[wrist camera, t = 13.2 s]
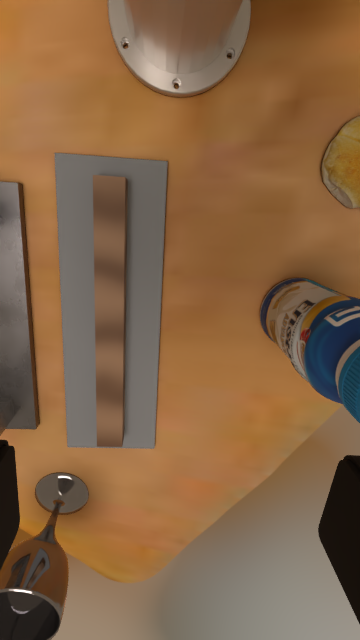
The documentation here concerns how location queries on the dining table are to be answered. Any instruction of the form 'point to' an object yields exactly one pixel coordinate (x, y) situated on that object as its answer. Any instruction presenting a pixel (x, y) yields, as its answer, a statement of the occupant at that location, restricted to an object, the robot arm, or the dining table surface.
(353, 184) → the bread roll
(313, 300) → the beverage bottle
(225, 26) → the robot arm
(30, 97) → the dining table surface
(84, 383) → the grey mat
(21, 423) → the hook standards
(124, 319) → the walnut rail
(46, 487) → the wine glass
